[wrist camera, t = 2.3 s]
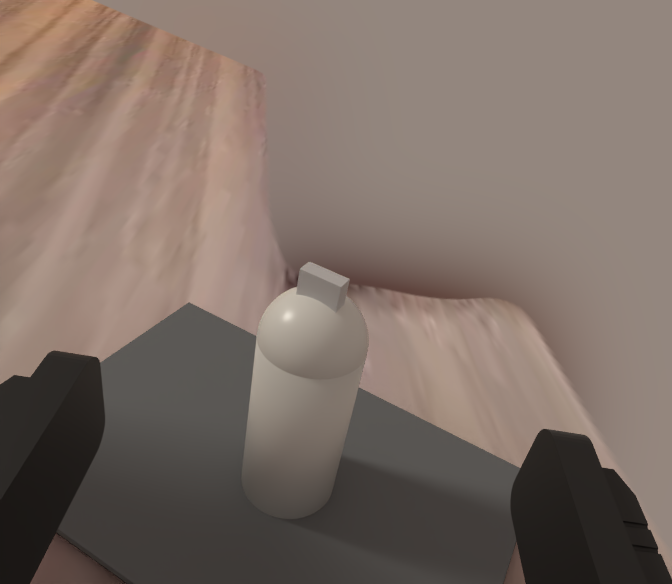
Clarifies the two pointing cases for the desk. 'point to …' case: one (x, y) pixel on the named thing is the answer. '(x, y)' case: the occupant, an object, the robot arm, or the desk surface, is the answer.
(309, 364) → the white domed bottle
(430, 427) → the desk mat
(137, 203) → the desk surface
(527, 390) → the desk surface
